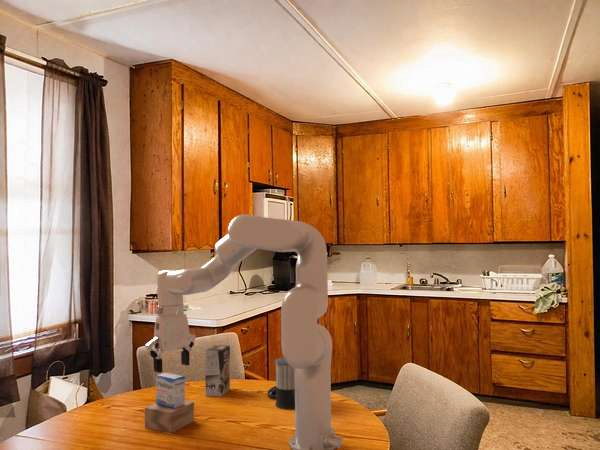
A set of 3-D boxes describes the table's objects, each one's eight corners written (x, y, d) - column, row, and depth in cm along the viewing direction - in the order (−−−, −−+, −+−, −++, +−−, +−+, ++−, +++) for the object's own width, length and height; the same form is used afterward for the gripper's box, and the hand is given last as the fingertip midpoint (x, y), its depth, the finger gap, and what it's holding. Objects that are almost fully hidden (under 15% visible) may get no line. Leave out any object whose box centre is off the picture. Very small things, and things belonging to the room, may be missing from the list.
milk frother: (295, 411, 150) (294, 364, 151) (253, 404, 157) (252, 359, 158) (313, 398, 163) (313, 355, 163) (274, 392, 170) (273, 351, 170)
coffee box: (221, 396, 166) (221, 350, 166) (204, 395, 167) (204, 350, 168) (230, 389, 174) (230, 345, 175) (214, 388, 176) (214, 344, 176)
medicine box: (155, 404, 141) (155, 375, 141) (166, 400, 145) (166, 371, 145) (174, 409, 137) (174, 379, 137) (185, 404, 141) (185, 375, 141)
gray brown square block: (193, 422, 143) (193, 401, 143) (171, 434, 134) (171, 412, 134) (168, 417, 147) (168, 397, 147) (144, 428, 138) (144, 407, 139)
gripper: (153, 315, 133) (154, 376, 132) (201, 308, 146) (203, 363, 145) (138, 313, 138) (139, 373, 137) (186, 306, 151) (187, 360, 150)
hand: (172, 368), depth 141 cm, fingers open, 9 cm apart
